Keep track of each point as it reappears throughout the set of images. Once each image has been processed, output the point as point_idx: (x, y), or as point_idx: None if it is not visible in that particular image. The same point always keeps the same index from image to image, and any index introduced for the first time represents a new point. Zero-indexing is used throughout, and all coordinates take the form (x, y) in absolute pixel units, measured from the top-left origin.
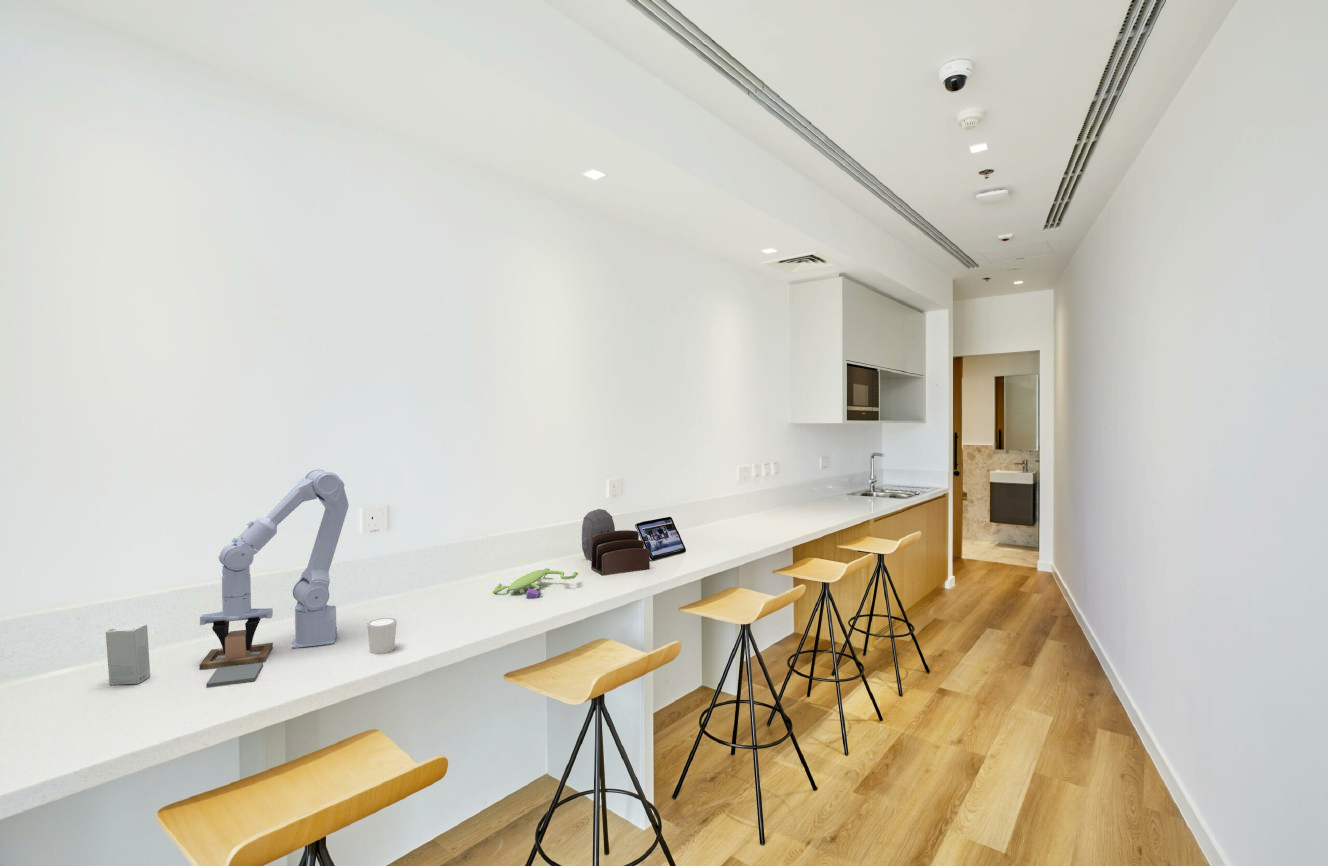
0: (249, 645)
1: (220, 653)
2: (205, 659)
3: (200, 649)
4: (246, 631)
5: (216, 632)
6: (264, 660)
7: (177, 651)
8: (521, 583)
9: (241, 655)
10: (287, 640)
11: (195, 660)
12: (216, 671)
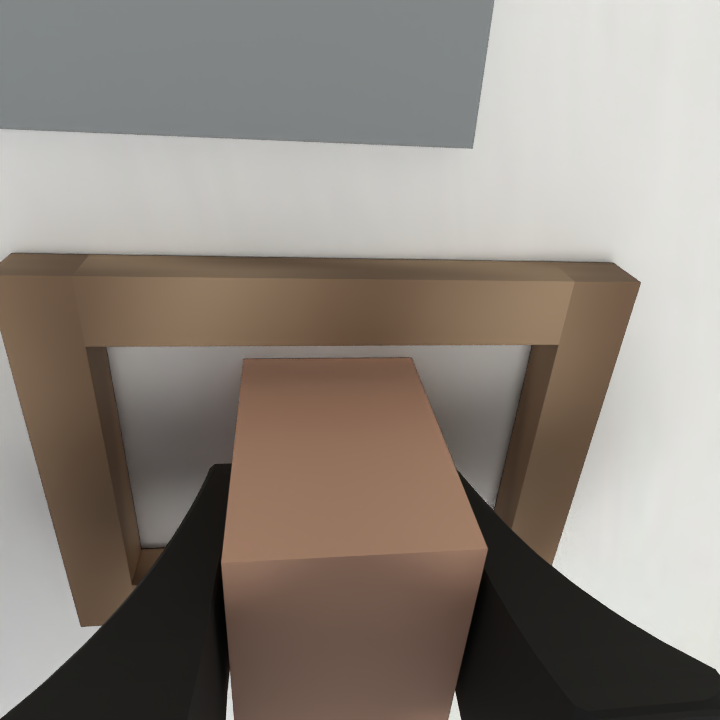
0: (200, 492)
1: None
2: (585, 406)
3: None
4: (198, 643)
5: (637, 638)
6: (9, 259)
7: (706, 647)
8: None
9: (275, 391)
10: (30, 685)
11: (627, 487)
12: (473, 15)
